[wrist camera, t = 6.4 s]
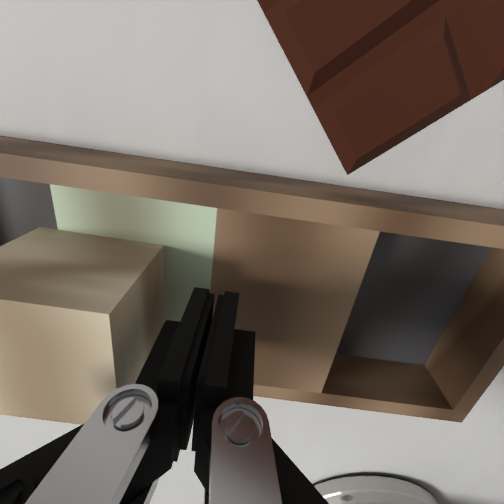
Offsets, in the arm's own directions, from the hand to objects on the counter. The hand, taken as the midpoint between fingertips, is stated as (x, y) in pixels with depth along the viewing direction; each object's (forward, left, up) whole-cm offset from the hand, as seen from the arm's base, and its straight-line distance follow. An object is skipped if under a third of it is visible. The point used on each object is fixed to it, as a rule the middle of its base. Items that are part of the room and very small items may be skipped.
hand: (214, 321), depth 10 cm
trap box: (0, 0, -4) cm, 4 cm away
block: (+4, 0, -1) cm, 5 cm away
